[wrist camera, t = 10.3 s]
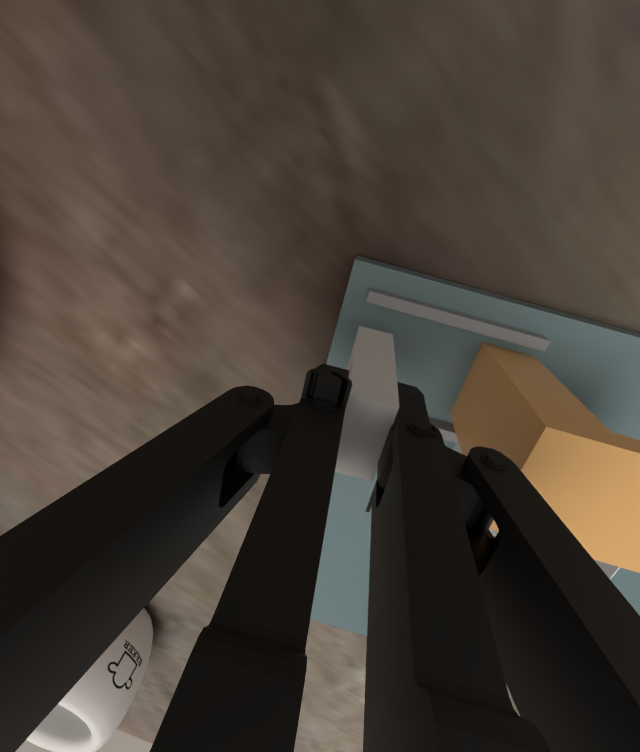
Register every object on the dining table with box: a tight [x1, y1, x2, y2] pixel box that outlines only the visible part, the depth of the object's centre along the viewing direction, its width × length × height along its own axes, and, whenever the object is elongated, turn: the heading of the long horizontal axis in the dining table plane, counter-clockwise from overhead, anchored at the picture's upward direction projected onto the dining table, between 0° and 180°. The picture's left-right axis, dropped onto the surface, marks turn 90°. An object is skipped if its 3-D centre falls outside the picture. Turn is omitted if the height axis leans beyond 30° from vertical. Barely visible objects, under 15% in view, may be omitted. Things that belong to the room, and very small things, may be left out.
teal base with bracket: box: [310, 256, 640, 636], centre depth 19 cm, size 24×22×9 cm
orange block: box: [450, 342, 640, 573], centre depth 15 cm, size 4×6×8 cm, turn 76°
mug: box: [26, 608, 153, 752], centre depth 28 cm, size 12×8×8 cm
